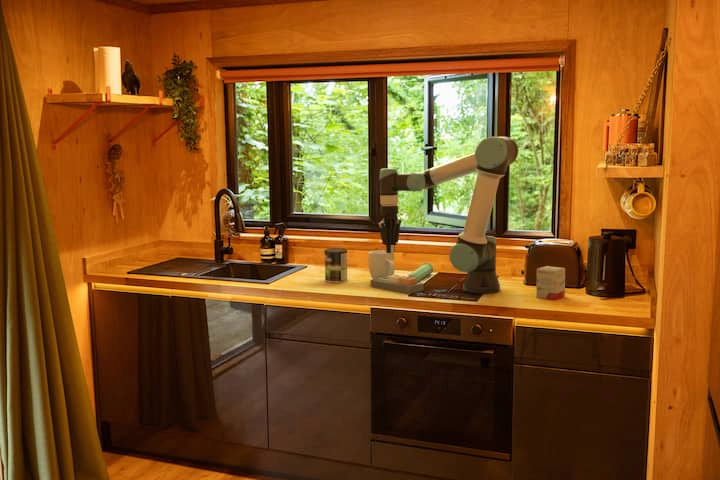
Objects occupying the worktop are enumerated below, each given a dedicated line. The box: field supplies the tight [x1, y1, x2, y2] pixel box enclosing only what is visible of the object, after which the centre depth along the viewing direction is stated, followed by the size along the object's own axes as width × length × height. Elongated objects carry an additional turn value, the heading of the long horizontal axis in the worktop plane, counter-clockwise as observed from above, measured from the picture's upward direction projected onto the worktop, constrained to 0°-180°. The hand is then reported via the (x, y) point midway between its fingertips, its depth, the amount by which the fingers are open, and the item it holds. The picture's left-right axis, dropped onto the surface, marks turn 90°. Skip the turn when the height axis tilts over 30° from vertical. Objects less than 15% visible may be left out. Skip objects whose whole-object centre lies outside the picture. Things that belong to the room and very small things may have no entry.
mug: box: [367, 249, 395, 280], centre depth 319 cm, size 15×11×13 cm
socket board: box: [370, 279, 425, 295], centre depth 305 cm, size 22×9×3 cm, turn 46°
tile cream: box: [388, 274, 406, 284], centre depth 305 cm, size 5×5×4 cm
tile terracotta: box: [400, 275, 417, 286], centre depth 300 cm, size 5×5×4 cm
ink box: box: [535, 265, 566, 301], centre depth 285 cm, size 9×9×12 cm
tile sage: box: [377, 277, 388, 282], centre depth 309 cm, size 5×5×4 cm
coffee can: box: [323, 247, 348, 284], centre depth 323 cm, size 10×10×14 cm
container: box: [407, 262, 434, 283], centre depth 324 cm, size 6×6×25 cm
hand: (390, 260), depth 306 cm, fingers closed
